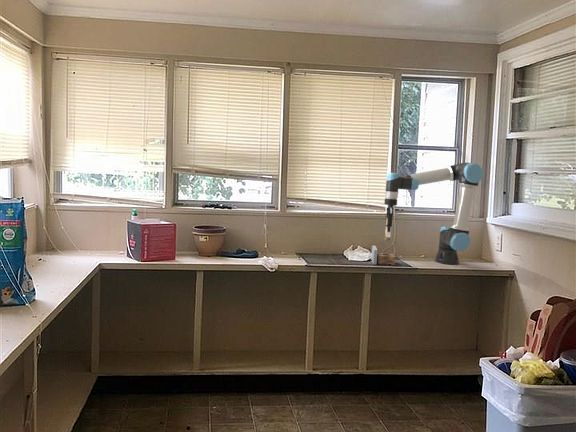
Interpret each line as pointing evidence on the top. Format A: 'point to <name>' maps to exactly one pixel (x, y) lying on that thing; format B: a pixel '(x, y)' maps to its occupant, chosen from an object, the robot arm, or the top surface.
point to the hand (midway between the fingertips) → (387, 236)
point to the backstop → (374, 255)
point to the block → (385, 258)
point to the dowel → (385, 232)
